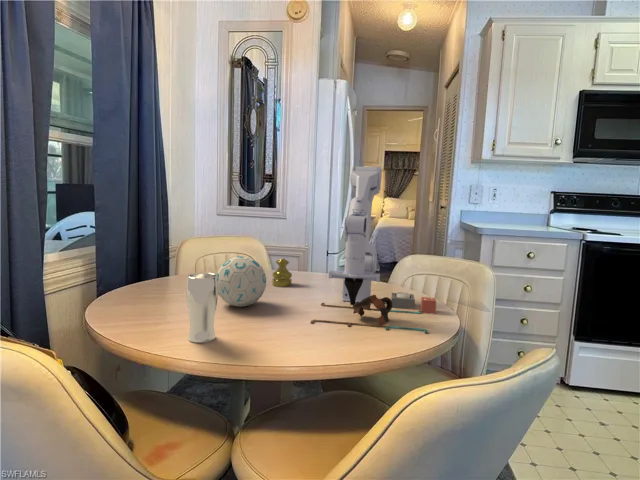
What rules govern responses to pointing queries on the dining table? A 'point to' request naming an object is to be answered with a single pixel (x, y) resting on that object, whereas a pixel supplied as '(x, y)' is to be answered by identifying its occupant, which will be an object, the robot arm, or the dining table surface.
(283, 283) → the gold chess piece
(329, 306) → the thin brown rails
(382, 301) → the brown bent frame piece
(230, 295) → the puzzle ball
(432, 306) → the die
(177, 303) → the dining table surface
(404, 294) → the dome
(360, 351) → the dining table surface
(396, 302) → the box
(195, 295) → the beer glass
